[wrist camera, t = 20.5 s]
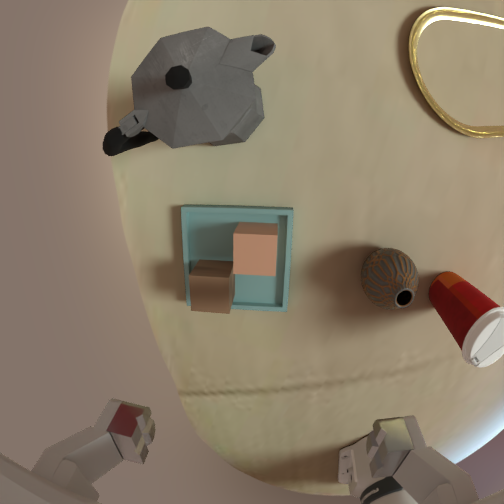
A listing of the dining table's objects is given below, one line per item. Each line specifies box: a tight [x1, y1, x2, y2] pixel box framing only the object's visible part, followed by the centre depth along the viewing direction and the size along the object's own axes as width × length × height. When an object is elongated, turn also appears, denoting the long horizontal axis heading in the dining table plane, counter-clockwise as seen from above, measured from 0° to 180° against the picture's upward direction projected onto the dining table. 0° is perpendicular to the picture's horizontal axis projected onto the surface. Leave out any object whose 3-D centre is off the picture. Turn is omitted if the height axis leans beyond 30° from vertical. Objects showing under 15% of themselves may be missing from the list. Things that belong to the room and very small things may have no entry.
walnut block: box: [189, 259, 235, 314], centre depth 37 cm, size 4×4×5 cm
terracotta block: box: [233, 222, 278, 276], centre depth 35 cm, size 4×4×5 cm
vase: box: [361, 248, 419, 310], centre depth 34 cm, size 7×7×9 cm
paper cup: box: [429, 272, 504, 367], centre depth 31 cm, size 8×8×14 cm
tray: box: [181, 205, 293, 312], centre depth 38 cm, size 13×13×2 cm
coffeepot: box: [103, 27, 276, 156], centre depth 25 cm, size 15×9×18 cm, turn 119°
